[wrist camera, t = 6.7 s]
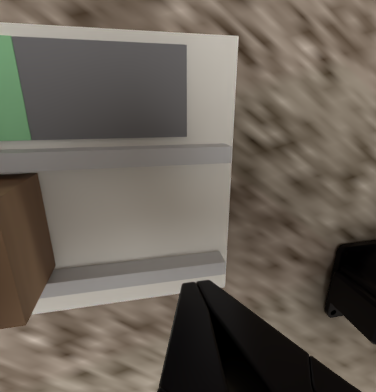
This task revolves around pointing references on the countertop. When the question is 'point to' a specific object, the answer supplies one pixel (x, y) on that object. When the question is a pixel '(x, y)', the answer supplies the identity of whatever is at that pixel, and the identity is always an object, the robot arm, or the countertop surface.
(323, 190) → the countertop surface
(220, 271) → the gauge base
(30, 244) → the slider
